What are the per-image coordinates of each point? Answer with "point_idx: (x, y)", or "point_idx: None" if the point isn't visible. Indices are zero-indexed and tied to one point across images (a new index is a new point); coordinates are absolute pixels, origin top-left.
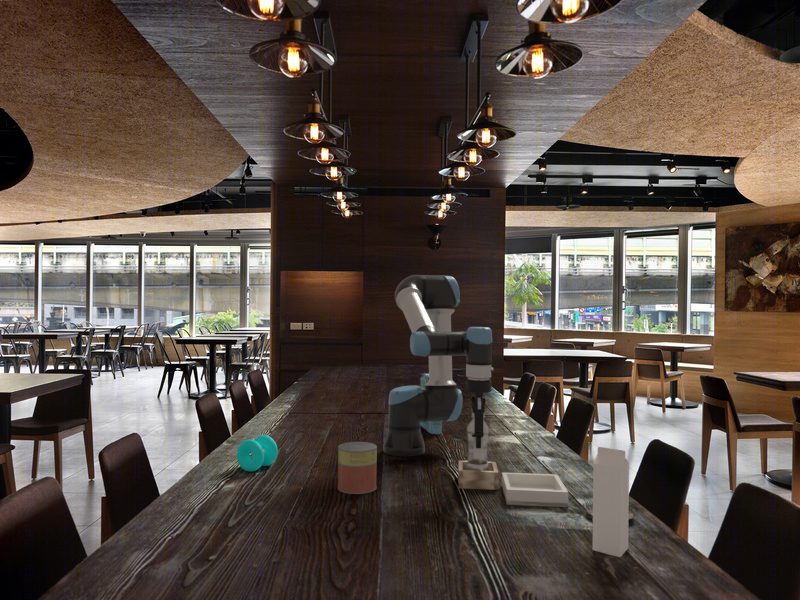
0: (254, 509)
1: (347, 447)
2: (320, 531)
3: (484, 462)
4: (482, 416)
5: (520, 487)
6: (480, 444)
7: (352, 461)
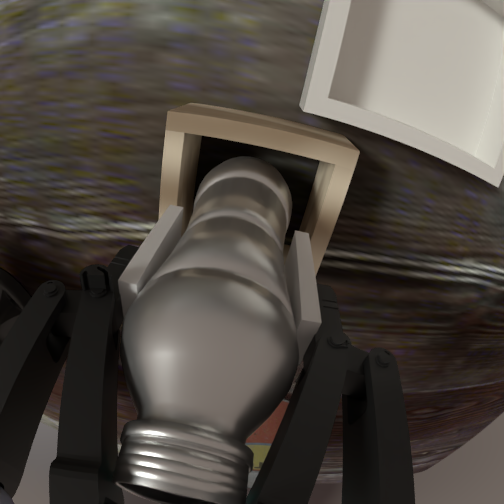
0: (330, 460)
1: None
2: (422, 425)
3: (280, 205)
4: (409, 496)
5: (371, 58)
6: (336, 306)
7: None
